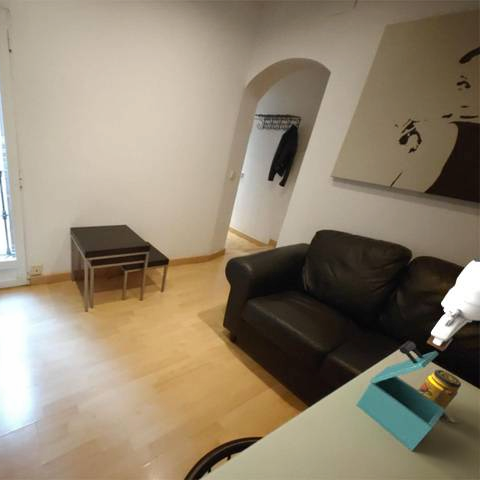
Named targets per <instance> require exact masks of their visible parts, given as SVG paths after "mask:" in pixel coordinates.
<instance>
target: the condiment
mask: <svg viewBox="0 0 480 480" xmlns="http://www.w3.org/2000/svg"><path fill="white" fill-rule="evenodd" d="M461 387H462V383H461V381H460V380H459V379H458V378H457V377H456V376H455V375H453V374H451V373H450V372H448V371H445V370H444V369H443V370H442V369H435V370H434V372H433V373H432V374H430V375H428V376H427V377H426V378H425V380H424V381H423V383H422V384H421V385H420V386H419V388H418V390H417V391H419V392H420V393H422V394H423V395H425V396H426V397H428V398H429V399H431V400H432V401H434V402H435V403H436V404H438V405H439V406H441V407H442V408H444V409H445V411H444V413H443V414H442V415H441V417H440V418H439V419H438V420H441V421H446V422H452V423H455V424H456V421H455V420H454V419H453V418H452V417H451V416H450V415H449V414H448V413H447V412H446V408H447V407H448V406H449V404H450V403H451V402H452V401H453V400H454V399H455V398H456V397H457V395H458V391H459V389H460V388H461Z"/></svg>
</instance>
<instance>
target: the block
mask: <svg viewBox="0 0 480 480" xmlns="http://www.w3.org/2000/svg"><path fill="white" fill-rule="evenodd" d="M427 339H428V340H427V341H426V343H427V344H428V345H430V346H432V347H434V348H436V349H437V350H440V351H441V352H444V350H446V349H447V347H448V346H449V345H450V344H451V342H452V341H453V337H452V336H451V337H450V338H449V339H448V340H447V341H443V342H442V344H441V345H440V346H438V345H436V344H434V343H433V340H434V339H435V336H433V335H430V336H429V338H427Z"/></svg>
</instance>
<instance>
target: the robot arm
mask: <svg viewBox="0 0 480 480" xmlns="http://www.w3.org/2000/svg"><path fill="white" fill-rule="evenodd" d="M441 306H442V308H443V311H444V314H443V315H442V316H441V318H440V319H439V320H438V321H437V323H436V324H435V326H434V327H433V329H432V330H431V332H430V334H431V335H433V336H435V339H434V340H433V343H434V344H436V345H438V346H440V345H441V344H442V342H443V341H447V340H448V339H449V338H450V337H451V338H452V337H453V336H454V335H455V334H456V333H457V332H458V331H459V330H460V329H461V328H462V327H463V326H465V325H466V324H467V323H472V322H473V321H480V257H478V258H474V259H473V260H472V261H470V262H469V263H468V264H467V265H466V266H465V267H464V269H463V270H462V271H461V272H460V274H459V275H458V276H457V278H456V281H455V285H454V286H453V287H452V288H450V289H449V290H448V292H447V293H446V295H445V296H444V298H443V300H442V301H441ZM431 335H430V336H431Z"/></svg>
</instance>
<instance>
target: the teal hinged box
mask: <svg viewBox="0 0 480 480" xmlns="http://www.w3.org/2000/svg"><path fill="white" fill-rule="evenodd" d="M356 406H357V407H358V408H359V409H360V410H361V411H363V412H364V413H365V414H366V415H367V416H369V417H370V418H371V419H372V420H373V421H374V422H376V423H377V424H378V425H379V426H381V427H382V428H383V429H384V430H386V431H387V432H388V433H389V434H390V435H392V437H394V438H395V439H396V440H397V441H399V442H400V443H401V444H402V445H404V446H405V447H406V448H407V449H408V450H409V451H411V452H413V450H414V449H415V448H416V447H417V446H418V445H419V444H420V443H421V441H422V440H424V438H425V437H426V436H427V434H428V433H429V432H430V431H431V430H432V429H433V428H434V427H435V425H436V423H437V422H438V421H439V420H440V419H439V418H440V417H441V415H442V414H443V413H444V411H445V412H446V408H445V409H444V408H442V407H441V406H439V405H438V404H436V403H435V402H434V401H432V400H431V399H429V398H428V397H426V396H425V395H423V394H422V393H420V392H419V391H418V390H417V389H416V388H414V387H413V386H412V385H410V384H409V383H407V382H406V381H404V380H403V379H401V378H400V377H399V376H395V377H392V378H389V379H386V380H382V381H379V382H376V383H372V382H370V384H369V385H368V387H367V388H366V390H365V391H364V392H363V394H362V395H361V397H360V399H359V400H358V401H357V403H356Z"/></svg>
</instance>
